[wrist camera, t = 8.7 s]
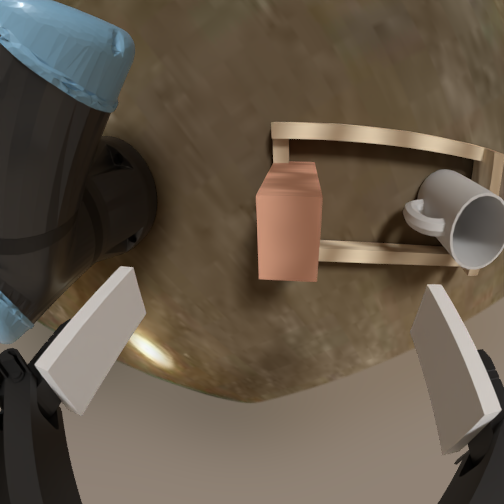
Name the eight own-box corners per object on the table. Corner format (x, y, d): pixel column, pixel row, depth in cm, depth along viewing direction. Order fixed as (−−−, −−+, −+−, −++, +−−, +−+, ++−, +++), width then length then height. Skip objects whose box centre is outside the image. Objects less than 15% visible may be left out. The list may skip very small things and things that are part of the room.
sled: (275, 250, 32) (260, 322, 22) (273, 122, 26) (253, 129, 15) (463, 258, 28) (508, 319, 18) (484, 147, 22) (554, 176, 12)
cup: (464, 227, 27) (502, 265, 19) (391, 233, 29) (417, 276, 21) (468, 168, 24) (514, 192, 16) (391, 169, 26) (423, 194, 18)
